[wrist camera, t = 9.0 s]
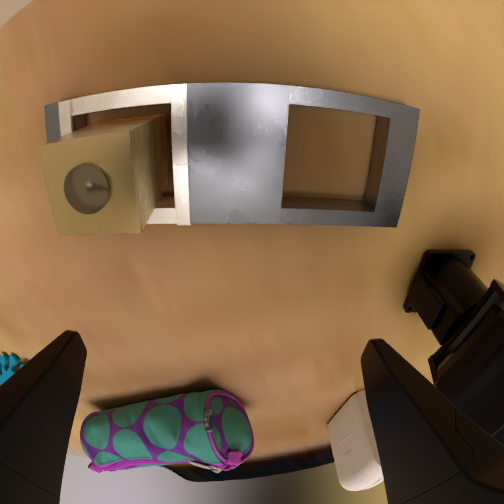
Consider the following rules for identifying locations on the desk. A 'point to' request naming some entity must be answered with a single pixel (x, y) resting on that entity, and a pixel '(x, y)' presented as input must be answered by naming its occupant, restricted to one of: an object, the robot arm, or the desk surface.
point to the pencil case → (170, 433)
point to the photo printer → (355, 445)
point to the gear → (4, 372)
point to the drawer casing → (255, 152)
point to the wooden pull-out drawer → (107, 175)
